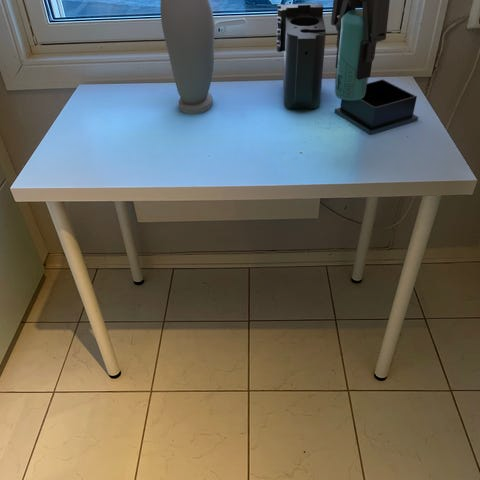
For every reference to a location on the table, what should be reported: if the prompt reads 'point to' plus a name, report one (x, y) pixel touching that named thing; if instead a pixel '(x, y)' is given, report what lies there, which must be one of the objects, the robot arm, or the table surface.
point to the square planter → (380, 108)
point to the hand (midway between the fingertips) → (352, 72)
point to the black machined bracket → (301, 53)
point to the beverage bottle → (350, 55)
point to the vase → (190, 50)
